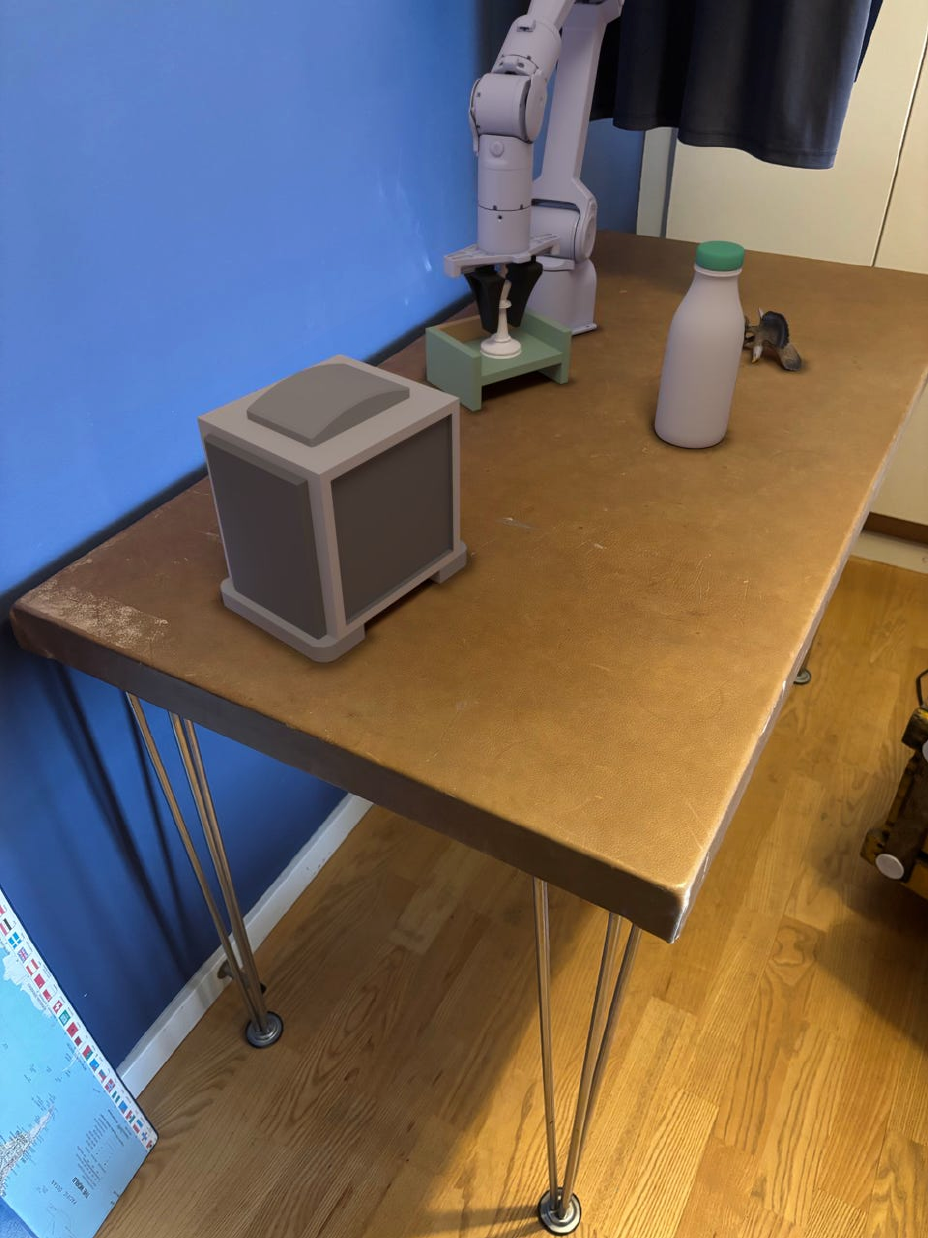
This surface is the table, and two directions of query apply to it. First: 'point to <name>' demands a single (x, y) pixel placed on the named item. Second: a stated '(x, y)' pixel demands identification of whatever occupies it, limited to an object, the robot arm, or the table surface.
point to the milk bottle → (703, 351)
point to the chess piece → (501, 330)
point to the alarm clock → (334, 499)
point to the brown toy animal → (772, 338)
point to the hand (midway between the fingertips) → (501, 327)
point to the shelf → (467, 370)
